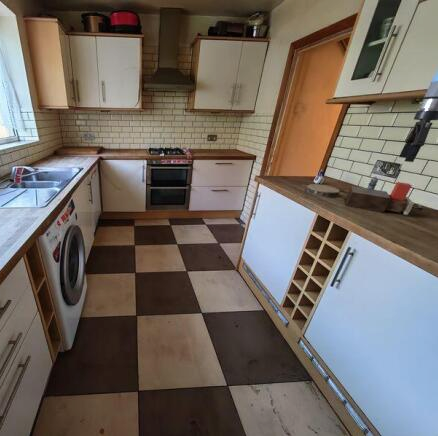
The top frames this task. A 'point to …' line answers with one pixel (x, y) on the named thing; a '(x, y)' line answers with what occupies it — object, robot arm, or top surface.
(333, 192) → the round wood slice
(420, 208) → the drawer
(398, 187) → the tea box
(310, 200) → the top surface
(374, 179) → the salt shaker
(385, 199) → the dark wooden block
